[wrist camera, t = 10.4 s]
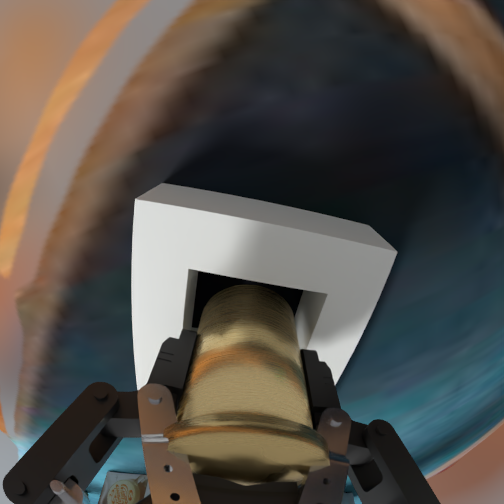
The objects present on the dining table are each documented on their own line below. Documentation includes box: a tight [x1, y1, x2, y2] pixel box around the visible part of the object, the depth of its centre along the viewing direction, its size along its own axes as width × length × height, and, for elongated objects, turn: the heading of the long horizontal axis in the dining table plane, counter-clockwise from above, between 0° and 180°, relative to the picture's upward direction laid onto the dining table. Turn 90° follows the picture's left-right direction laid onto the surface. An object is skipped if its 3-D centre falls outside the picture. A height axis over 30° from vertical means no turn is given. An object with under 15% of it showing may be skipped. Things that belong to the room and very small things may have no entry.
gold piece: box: [163, 285, 330, 487], centre depth 11 cm, size 6×6×9 cm
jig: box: [132, 183, 397, 390], centre depth 18 cm, size 12×22×4 cm, turn 169°
